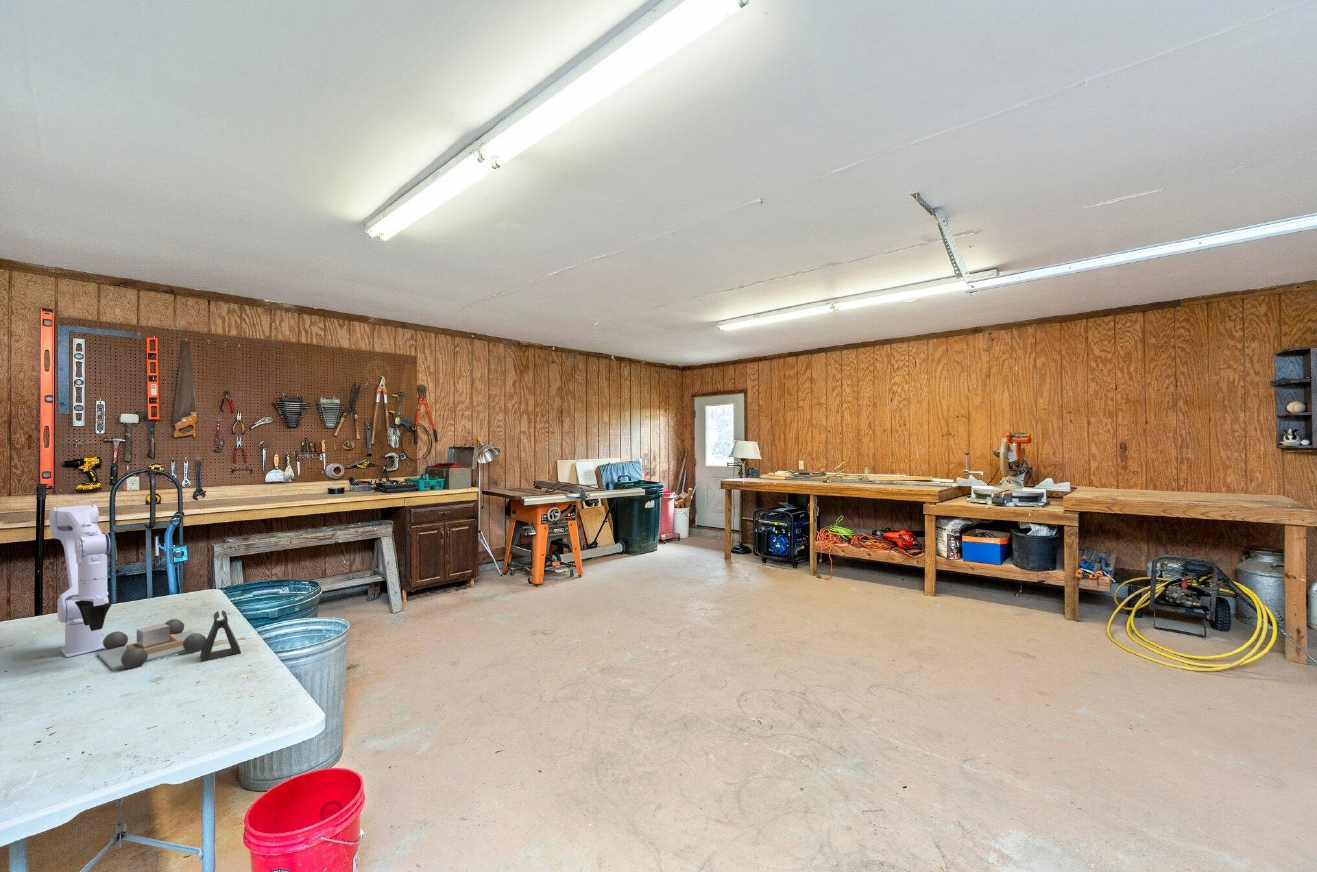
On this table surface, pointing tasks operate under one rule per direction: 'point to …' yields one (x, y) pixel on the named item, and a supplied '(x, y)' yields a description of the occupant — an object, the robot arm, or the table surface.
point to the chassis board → (135, 657)
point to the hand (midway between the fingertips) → (93, 627)
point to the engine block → (153, 636)
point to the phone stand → (208, 645)
